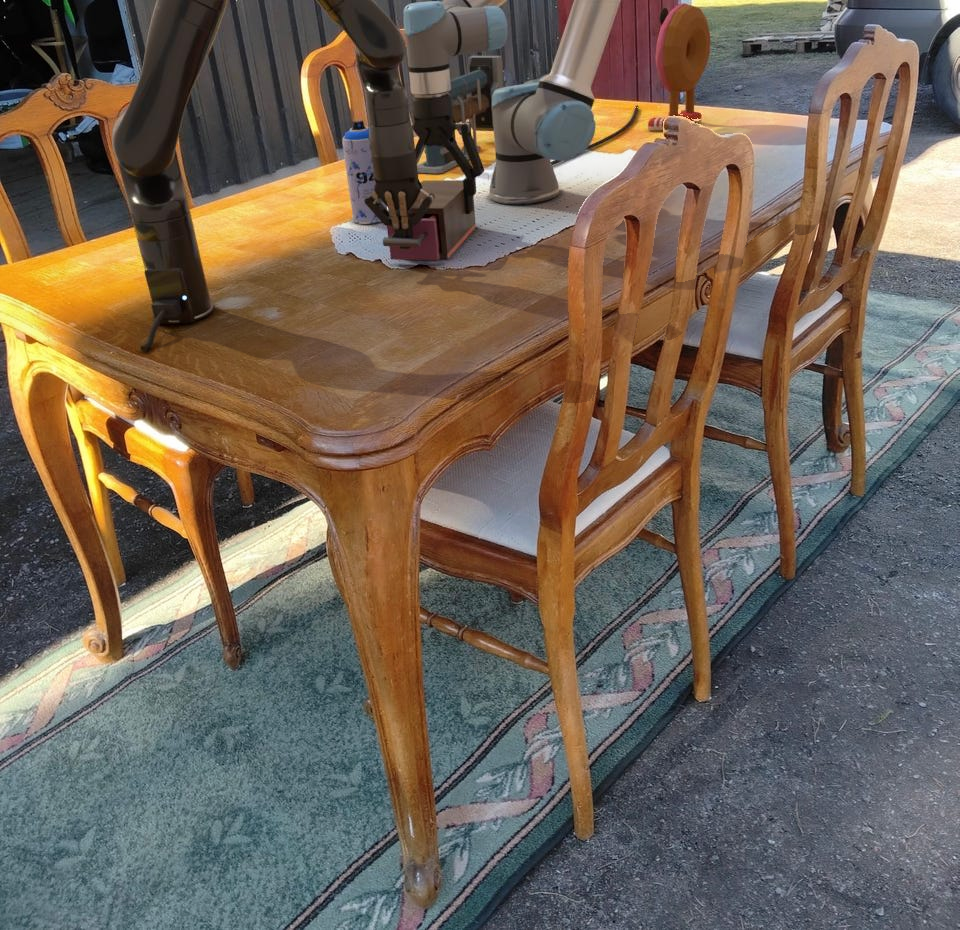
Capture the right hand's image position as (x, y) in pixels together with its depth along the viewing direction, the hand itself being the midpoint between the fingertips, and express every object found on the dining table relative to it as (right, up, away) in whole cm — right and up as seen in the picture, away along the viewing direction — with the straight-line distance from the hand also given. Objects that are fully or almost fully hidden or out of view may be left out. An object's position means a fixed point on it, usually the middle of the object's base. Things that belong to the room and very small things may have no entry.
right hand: (442, 211), depth 191 cm
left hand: (-6, -11, -18) cm, 22 cm away
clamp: (+2, +30, +59) cm, 66 cm away
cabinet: (-1, -6, -2) cm, 7 cm away
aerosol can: (-16, +2, +15) cm, 22 cm away
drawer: (-3, -9, -8) cm, 13 cm away
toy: (+61, +42, +70) cm, 102 cm away
